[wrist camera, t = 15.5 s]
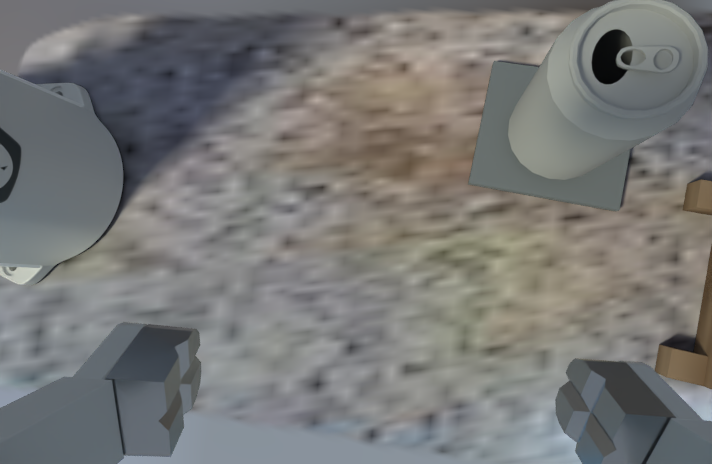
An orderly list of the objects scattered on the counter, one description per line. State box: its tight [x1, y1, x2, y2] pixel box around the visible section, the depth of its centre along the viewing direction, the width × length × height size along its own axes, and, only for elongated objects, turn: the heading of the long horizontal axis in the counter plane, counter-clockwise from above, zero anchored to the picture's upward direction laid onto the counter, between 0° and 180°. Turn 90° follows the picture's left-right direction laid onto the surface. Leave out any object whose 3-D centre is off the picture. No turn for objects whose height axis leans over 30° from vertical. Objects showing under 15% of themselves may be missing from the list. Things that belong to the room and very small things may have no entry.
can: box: [508, 0, 708, 180], centre depth 26 cm, size 8×8×12 cm
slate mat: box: [468, 61, 630, 211], centre depth 32 cm, size 11×10×1 cm
